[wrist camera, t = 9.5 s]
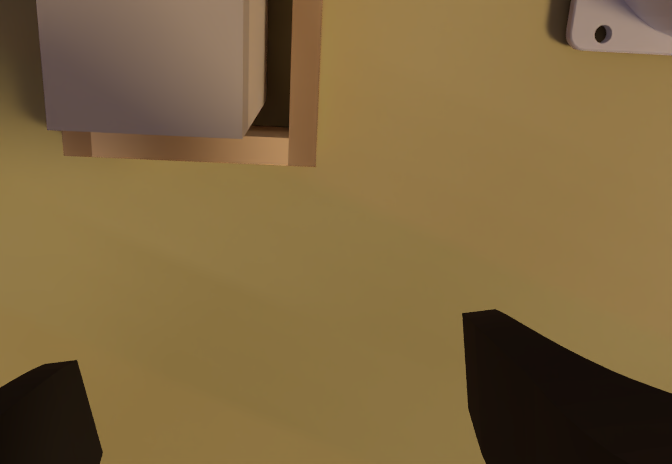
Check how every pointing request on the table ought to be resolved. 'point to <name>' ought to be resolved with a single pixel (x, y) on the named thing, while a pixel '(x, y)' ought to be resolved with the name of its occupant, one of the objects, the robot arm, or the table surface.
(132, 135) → the rack
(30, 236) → the table surface
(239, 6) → the block
